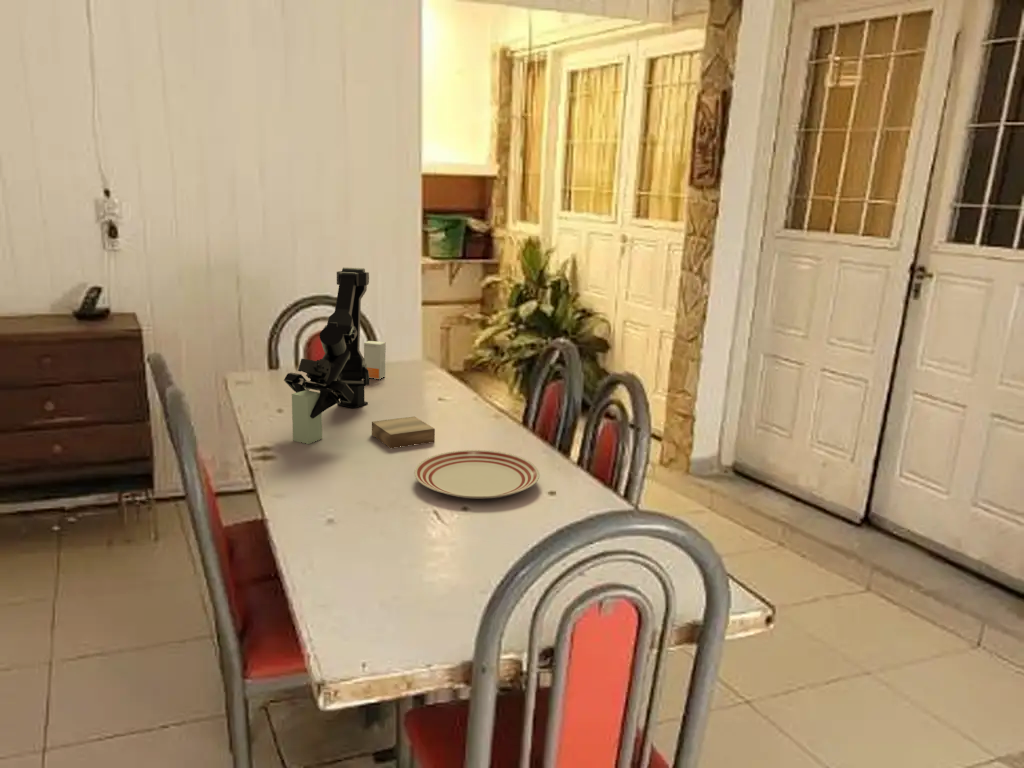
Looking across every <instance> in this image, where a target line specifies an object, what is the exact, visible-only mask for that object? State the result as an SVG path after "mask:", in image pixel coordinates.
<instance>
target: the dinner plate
mask: <svg viewBox="0 0 1024 768" xmlns="http://www.w3.org/2000/svg"><path fill="white" fill-rule="evenodd" d="M413 474H414V477H415V479H416V481H417V482H419V483H420V484H421V485H423V487H425V488H427V489H430V490H432V491H434V492H436V493H437V492H438V493H441V494H445V495H447V496H453V497H457V498H464V499H473V500H475V499H477V500H480V499H483V500H484V499H485V500H486V499H494V498H495V499H496V498H503V497H507V496H512V495H516V494H518V493H520V492H523V491H525V490H528V489H529V488H531V487H534V485H535V484H536V483H537V482H538V481H539V479H540V476H541V474H540V470H539V468H538V467H537V466H536V465H535V464H534V463H532V462H531V461H530V460H528V459H526V458H524V457H521V456H519V455H516V454H512V453H506V452H501V451H494V450H485V449H484V450H483V449H481V450H480V449H475V450H474V449H468V450H467V449H465V450H463V449H462V450H456V451H455V450H454V451H447V452H443V453H442V452H441V453H438V454H435V455H433V456H430V457H428V458H425V459H424V460H422V461H420V462H419V463H418V464H417V465H416V467H415V469H414V472H413Z"/></svg>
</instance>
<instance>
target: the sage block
mask: <svg viewBox="0 0 1024 768" xmlns="http://www.w3.org/2000/svg"><path fill="white" fill-rule="evenodd" d="M319 397H320V391H313V390H309V391H308V390H304V391H301V392H297V393H296V392H294V393H291V416H292V417H291V418H292V441H293V440H294V441H293V442H298V443H301V442H302V443H301V444H305V443H306V445H311V444H313V443H316V442H318V441H321V440H322V439H323V422H322V421H323V420H322V418H323V417H322V415H323V414H322V413H323V412H322V413H321V414H319V415H318V416H316V417H315V418H311V417H310V415H311V412H312V410H313V408H314V406H315V404H316V403H317V401H318V399H319ZM320 439H321V440H320ZM317 440H318V441H317ZM315 441H316V442H315ZM312 442H313V443H312Z"/></svg>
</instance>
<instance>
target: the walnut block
mask: <svg viewBox="0 0 1024 768" xmlns="http://www.w3.org/2000/svg"><path fill="white" fill-rule="evenodd" d="M435 434H436V429H435V428H434V427H432V426H431V425H430V424H429V423H428V424H427V423H426V422H425V421H423V420H422V419H419V418H418V417H416V416H407V417H399V418H392V419H383V420H375V421H371V436H372V435H373V436H372V437H374V436H375V437H376V438H375V437H374V438H375V439H377V440H378V439H379V440H380V441H379V440H378V441H379V442H381V443H382V442H383V443H384V444H383V443H382V444H383V445H385V444H386V445H387V446H386V445H385V446H386V447H388V446H389V447H390V448H392V449H395V448H394V447H398V448H403V447H402V446H405V447H409V446H408V445H412V446H415V445H414V444H419V445H422V444H421V443H426V444H430V443H429V442H433V443H435V440H436V439H435ZM400 446H401V447H400ZM389 447H388V448H389ZM390 448H389V449H390Z"/></svg>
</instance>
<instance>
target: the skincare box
mask: <svg viewBox="0 0 1024 768" xmlns="http://www.w3.org/2000/svg"><path fill="white" fill-rule="evenodd" d="M386 347H387V346H386V342H383V341H378V340H377V341H374V340H368V341H365V342H364V343H363V358H364V359H365V365H366V367H367V370H368V371H369V378H374V379H373V380H376V379H381V378H383V377H385V378H386ZM383 379H384V378H383ZM381 380H382V379H381Z"/></svg>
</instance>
